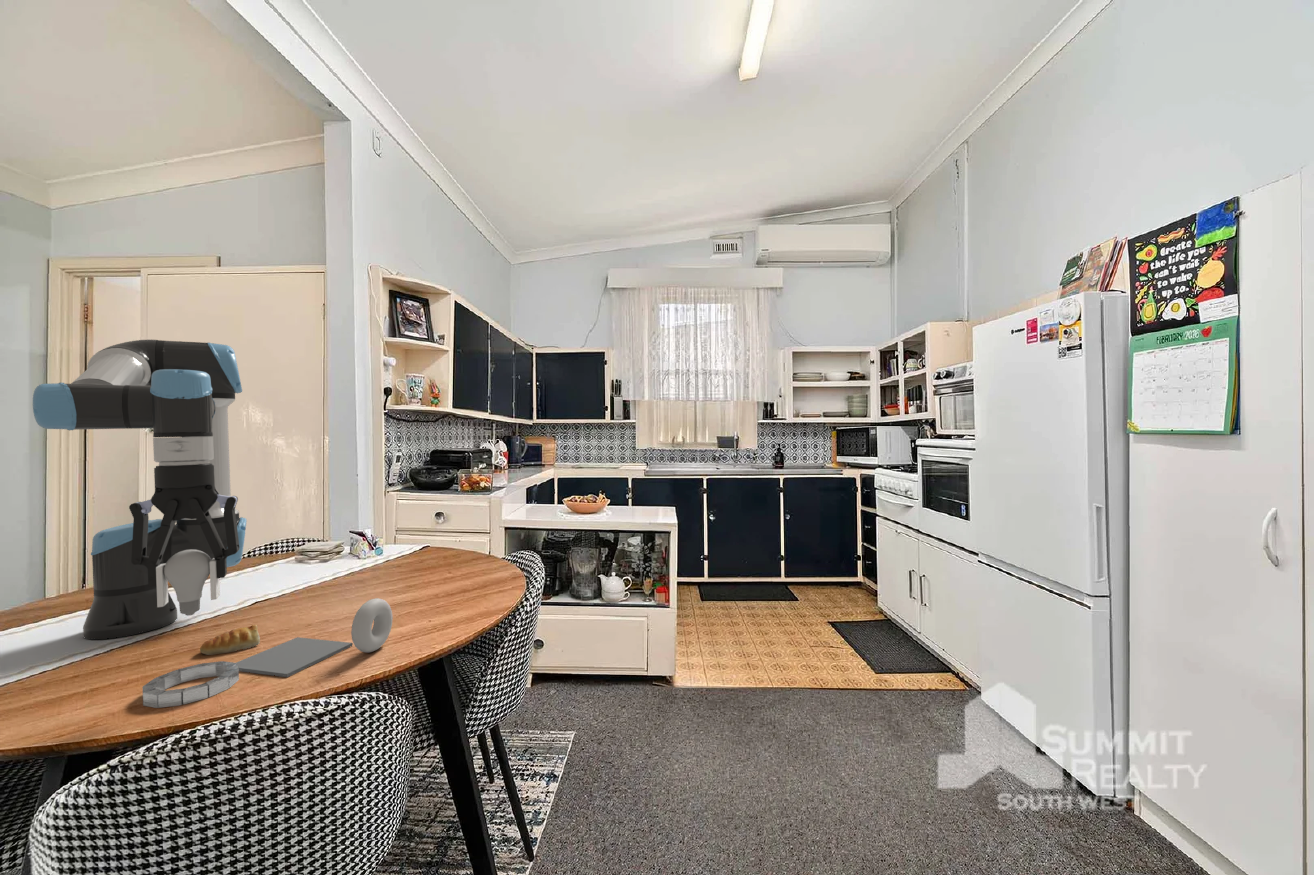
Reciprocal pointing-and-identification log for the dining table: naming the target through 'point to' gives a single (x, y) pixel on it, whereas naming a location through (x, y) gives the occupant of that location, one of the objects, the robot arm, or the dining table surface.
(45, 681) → the dining table surface
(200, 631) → the dining table surface
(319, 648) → the mat
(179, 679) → the segmented bracelet
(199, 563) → the lightbulb
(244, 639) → the pastry
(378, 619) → the donut
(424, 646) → the dining table surface
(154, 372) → the robot arm
